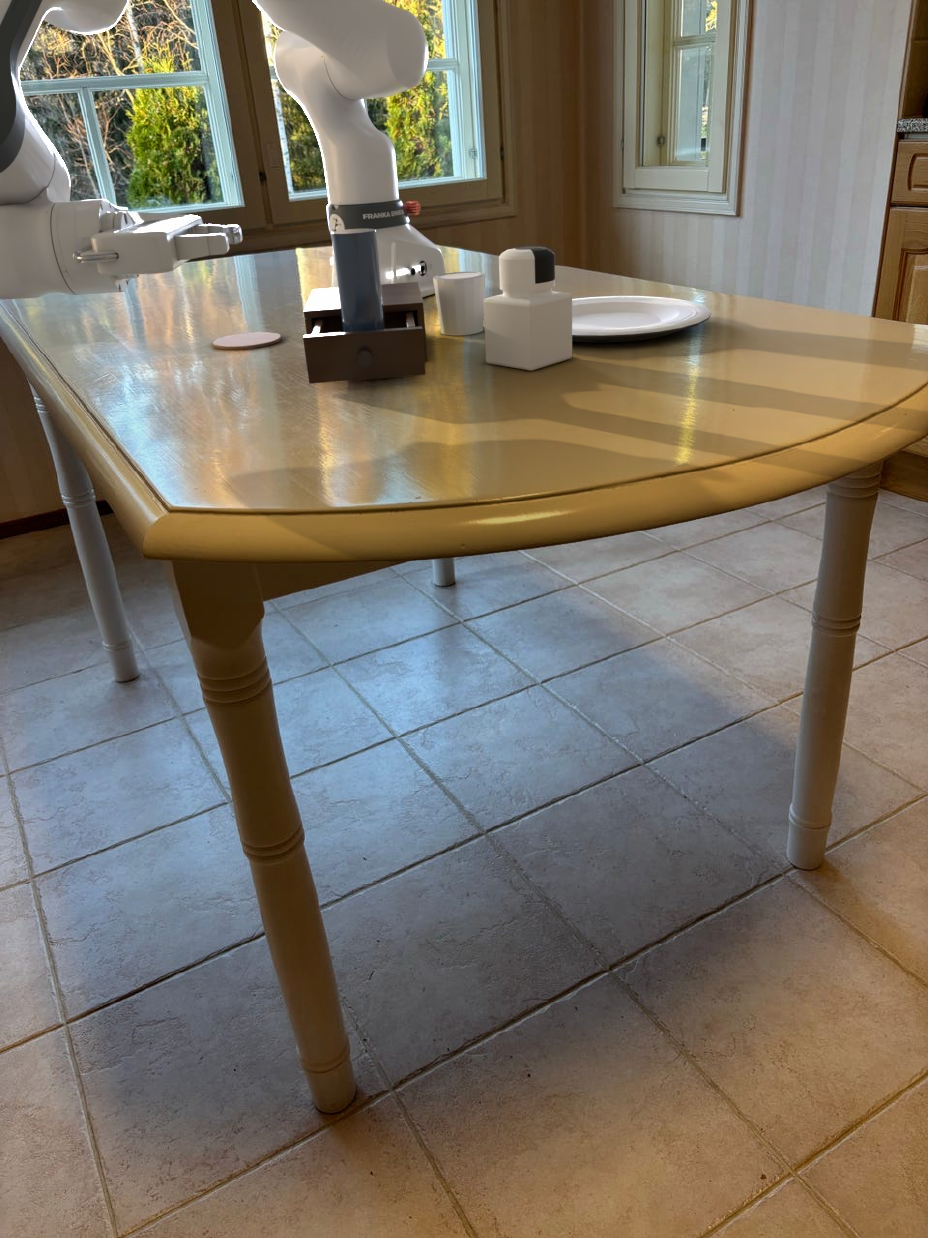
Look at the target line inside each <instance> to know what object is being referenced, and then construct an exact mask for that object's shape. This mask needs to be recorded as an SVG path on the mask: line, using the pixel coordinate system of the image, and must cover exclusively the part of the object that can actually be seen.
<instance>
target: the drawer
mask: <svg viewBox="0 0 928 1238" xmlns="http://www.w3.org/2000/svg"><path fill="white" fill-rule="evenodd" d="M384 320H385V329H380V330H367V331H353V332H343V327H342V318H341V316H330V317H317V320H316V323H315V326H314V329H313V332H312V335H307V334H304V335H303V337H302V341H303V347H304V354H305V362H306V363H305V364H306V369H307V377H308V383H309V384H324V383H336V382H347V381H348V382H349V381H361V380H362V381H363V380H375V379H387V378H390V379H391V378H401V377H402V378H403V377H411V376H412V377H414V376H415V377H416V376H425V375H426V374H427V372H426V361H425V357H424V344H423V331H422V327H415V324H414V318H413V312H412V311H399V312H385V313H384Z"/></svg>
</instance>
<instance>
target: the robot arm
mask: <svg viewBox="0 0 928 1238" xmlns="http://www.w3.org/2000/svg"><path fill="white" fill-rule="evenodd" d="M129 2H130V0H0V300H24V299H37V298H40V297H44V296H46V295H49V294H55V293H61V294H64V295H65V294H66V295H69V296H82V295H83V296H86V295H101V294H113V293H115V294H117V293H124V292H125V291H126V290H127V289H128V285H129V282H130V281H131V279H132V280H133V279H138V278H140V276H141V275H158V274H166V273H170V272H173V271H174V270H176V269H178V268H179V267H180V266H182V265H184V264H186V263H187V262H188V261H190V260H193V259H199V258H204V257H208V256H221V255H225V254H227V253H228V252H229V251H230V245H239V244H240V243H242V241H243V238H244V237H243V233H242V228H241V226H240V225H238V224H227V225H225V224H222V225H221V224H212V223H208V224H206V223H205V224H204V221H203V219H202V217H201V216H198V215H196V214H195V215H194V214H185V213H169V212H167V213H166V212H165V213H164V212H140V211H139V212H138V211H135V212H134V211H130V210H129V208H128V207H126V206H117V205H115V204H113V203H111V202H110V201H109V200H108V199H105V198H99V199H98V198H96V199H84V200H83V199H81V200H72V180H71V176H70V173H69V171H68V168H67V166H66V164H65V162H64V160H63V159H62V157H61V155H60V154H59V152H58V150H57V149H56V147H55V146H54V144H53V143H52V142H51V140H50V139H49V137H48V136H47V135H46V133H45V132H44V131H43V129H42V128H41V126H40V125H39V124H38V121H37V120H36V118H34V116H33V114H32V113H31V112H30V109H29V108H28V106H27V103H26V101H25V97H24V94H23V90H22V87H21V79H20V73H21V68H22V65H23V63H24V61H25V59H26V57H27V55H28V52H29V50H30V49H31V45H32V44H33V41H34V40H35V37H36V35H37V33H38V31H39V28H40V27H41V24H42V22H43V21H44V22H46V23H48V24H50V25H52V26H55V27H57V28H59V29H62V30H64V31H67V32H71V33H75V34H81V35H93V34H95V35H96V34H99V33H102V32H105V31H108V30H110V29H112V28H113V27H115V26H116V25H117V23H118V22H119V21H120V19H121V17H122V15H124V13H125V10H126V8H127V6H128V4H129ZM252 2H253V3H254V4H255V5H256V7H257V8H258V9H259V11H261V13H262V14H263V15H264V16H265V18H267V20H268V21H269V22H270V23H272V24H273V25H274V26H275V27H277V28H279V29H280V30H281V32H280V33H279V34H278V36H277V37H276V41H275V44H274V48H273V64H274V68H275V73H276V76H277V78H278V80H279V83H280V85H281V86H282V88H283V89H284V90H285V92H286V93H287V94H288V95H290V96H291V97H292V98H293V99H294V100H295V101H296V102H297V103H298V105H300V107H301V108H302V110H303V111H304V113H305V115H306V116H307V118H308V120H309V122H310V125H311V127H312V128H313V131H314V133H315V136H316V139H317V142H318V145H319V149H320V152H321V157H322V164H323V170H324V177H325V183H326V184H325V185H326V190H327V191H326V192H327V201H328V204H327V205H326V216H327V225H328V231H329V235H330V239H331V240H332V232H335V231H340V230H348V229H375V230H376V237H377V247H378V258H379V268H380V278H381V285H382V284H396V283H410V282H418V283H419V287H420V291H421V295H422V298H424V297H428V296H432V295H434V294H435V288H434V282H433V277H435V276H437V275H441V274H446V273H447V272H446V266H445V265H446V264H445V261H444V260H445V259H444V255H443V253H442V251H441V249H440V247H439V246H438V245H437V244H435V243H434V242H433V241H431V240H430V239H428V237H426V236H424V234H423V233H421V232H420V231H419V230H418V229H416V228H415V227H414V226H413V225H411V224H410V222H411V220H410V218H409V215H410V216H411V215H413V216H418V215H420V212H421V207H422V206H421V204H420V202H419V201H418V200H413V201H411V200H408V201H406V202H405V203H404V202H403V200H401V198H400V194H399V182H398V170H397V159H396V150H395V146H394V144H393V142H392V140H391V139H390V137H389V136H387V135H386V133H384V132H383V131H381V130H379V129H378V128H377V127H376V126H375V125H374V123H373V122H372V120H371V118H370V116H369V114H368V111H367V109H366V105H365V100H370V99H380V98H390V97H393V96H396V95H398V94H401V93H404V92H407V91H408V90H412V89H413V88H415V87H417V86H418V85H419V84H420V83H421V81H422V80H423V78H424V76H425V74H426V72H427V71H426V70H427V66H428V62H429V44H428V39H427V36H426V33H425V31H424V30H425V29H424V27H423V26H422V24H421V22H420V21H419V20H418V18H417V17H416V16H415V15H414V13H412V12H411V11H409V10H407V9H404V8H401V7H399V6H396V5H393V4H392V3H389V2H387V1H385V0H252ZM331 242H332V241H331ZM331 244H332V247H333V242H332V243H331ZM329 261H330V262H329V263H330V266H332V275H331V287H330V288H338V284H337V276H336V268H335V259H334V251H333V250H332V257H330V258H329Z"/></svg>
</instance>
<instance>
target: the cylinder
mask: <svg viewBox="0 0 928 1238" xmlns="http://www.w3.org/2000/svg"><path fill="white" fill-rule="evenodd" d="M331 242H333V246H332V252H333V251H334V259H335V268H336V276H337V284H338V293H339V301H340V310H341V318H342V327H343V332H353V331H367V330H380V329H385V320H384V310H383V299H382V289H381V278H380V268H379V258H378V247H377V237H376V230H375V229H348V230H340V231H335V232H332V239H331Z"/></svg>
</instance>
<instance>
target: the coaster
mask: <svg viewBox="0 0 928 1238" xmlns="http://www.w3.org/2000/svg"><path fill="white" fill-rule="evenodd" d="M281 340H282V335H281V334H279V333H277V332H270V331H253V332H243V333H235V334H229V335H226V336H222V337H219V338H216V339H215V340H213V341H212V346H213V347H214V348H215V349H219V350H225V351H226V350H229V351H235V350H238V351H239V350H250V349H256V348H262V347H267V346H271V345H275V344H276V343H279V342H281Z"/></svg>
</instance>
